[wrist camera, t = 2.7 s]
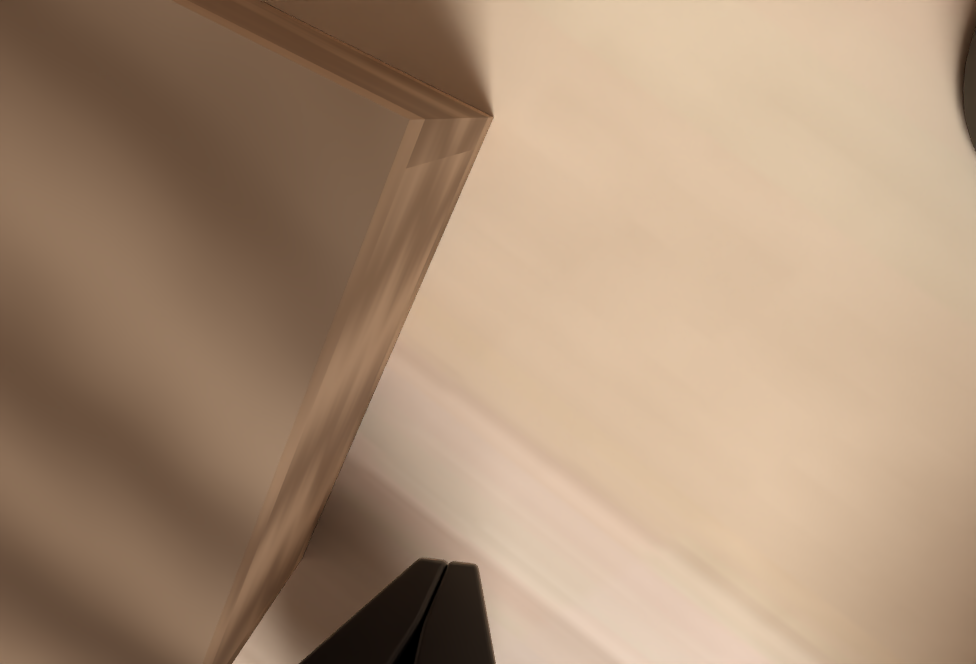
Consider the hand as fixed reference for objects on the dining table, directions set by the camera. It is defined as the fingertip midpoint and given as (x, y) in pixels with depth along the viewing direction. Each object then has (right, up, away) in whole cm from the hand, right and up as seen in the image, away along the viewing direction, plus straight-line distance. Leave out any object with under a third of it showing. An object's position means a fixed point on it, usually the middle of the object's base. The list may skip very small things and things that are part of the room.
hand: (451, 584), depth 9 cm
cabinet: (-8, +4, +14) cm, 17 cm away
